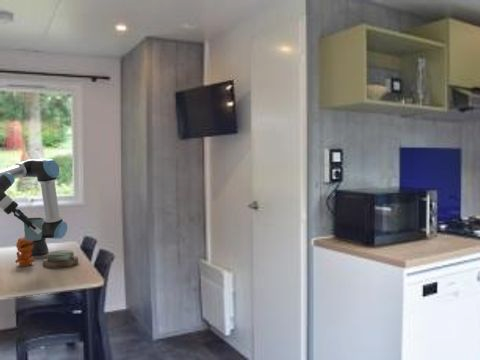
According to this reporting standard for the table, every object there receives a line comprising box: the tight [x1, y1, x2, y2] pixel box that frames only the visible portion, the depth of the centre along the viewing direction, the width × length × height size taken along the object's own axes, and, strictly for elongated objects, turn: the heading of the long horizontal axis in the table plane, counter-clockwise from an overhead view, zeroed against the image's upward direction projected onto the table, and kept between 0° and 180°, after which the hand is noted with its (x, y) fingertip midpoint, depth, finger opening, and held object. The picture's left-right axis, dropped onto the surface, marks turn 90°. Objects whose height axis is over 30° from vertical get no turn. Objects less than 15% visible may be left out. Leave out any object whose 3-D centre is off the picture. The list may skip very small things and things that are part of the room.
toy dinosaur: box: [14, 236, 35, 267], centre depth 272 cm, size 11×11×18 cm
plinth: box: [42, 249, 79, 269], centre depth 274 cm, size 20×20×7 cm
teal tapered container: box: [23, 217, 43, 241], centre depth 256 cm, size 10×10×12 cm
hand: (39, 231), depth 258 cm, fingers closed on teal tapered container, 10 cm apart
